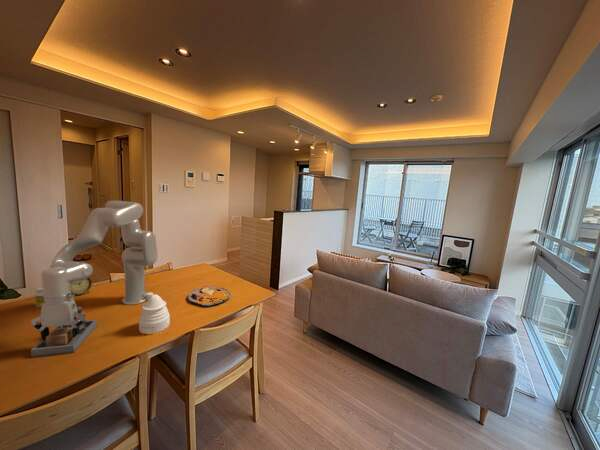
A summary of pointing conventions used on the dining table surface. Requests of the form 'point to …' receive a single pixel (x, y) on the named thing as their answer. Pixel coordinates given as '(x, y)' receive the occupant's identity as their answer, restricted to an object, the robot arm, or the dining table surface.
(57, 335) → the walnut block
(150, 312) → the honey pot
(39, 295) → the supplement bottle
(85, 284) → the alarm clock
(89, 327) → the tray
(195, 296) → the food plate
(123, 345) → the dining table surface
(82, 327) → the supplement bottle
